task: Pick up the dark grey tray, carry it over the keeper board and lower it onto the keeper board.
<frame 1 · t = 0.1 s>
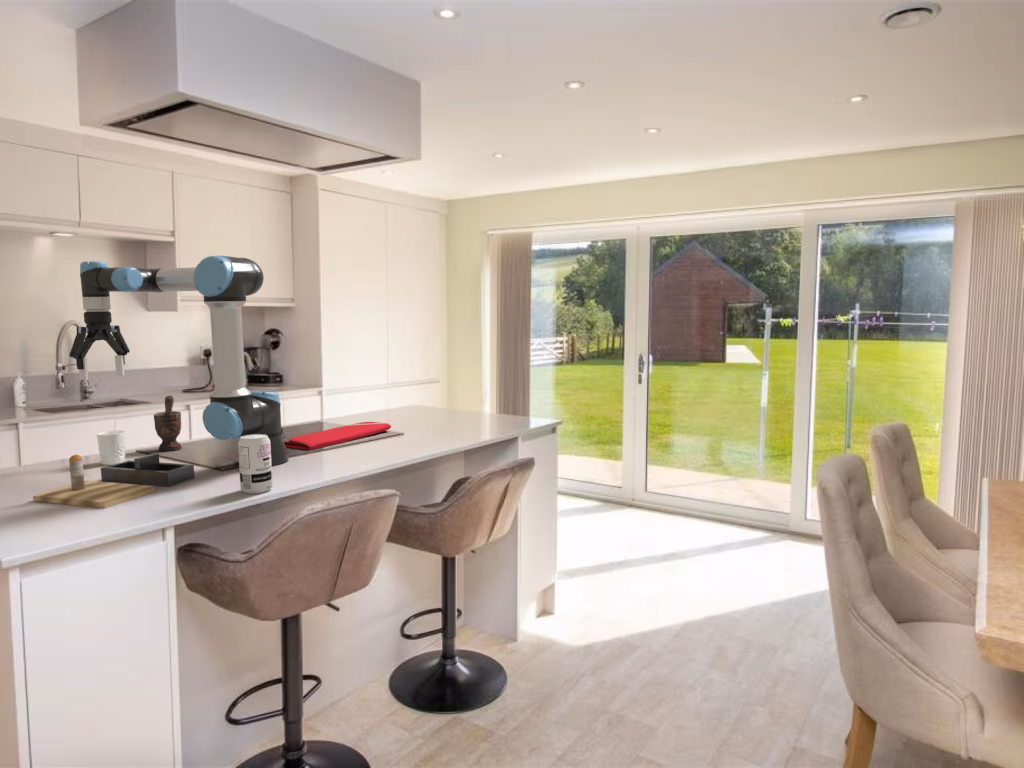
hand: (102, 377, 223), 28 cm above the countertop, fingers open, 13 cm apart
mortar and pestle: (172, 450, 245), on the countertop
keeper board: (95, 496, 186), on the countertop
supplement can: (257, 491, 190), on the countertop
white cup: (113, 463, 226), on the countertop
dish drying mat: (339, 440, 262), on the countertop
dark grey tray: (148, 479, 203), on the countertop
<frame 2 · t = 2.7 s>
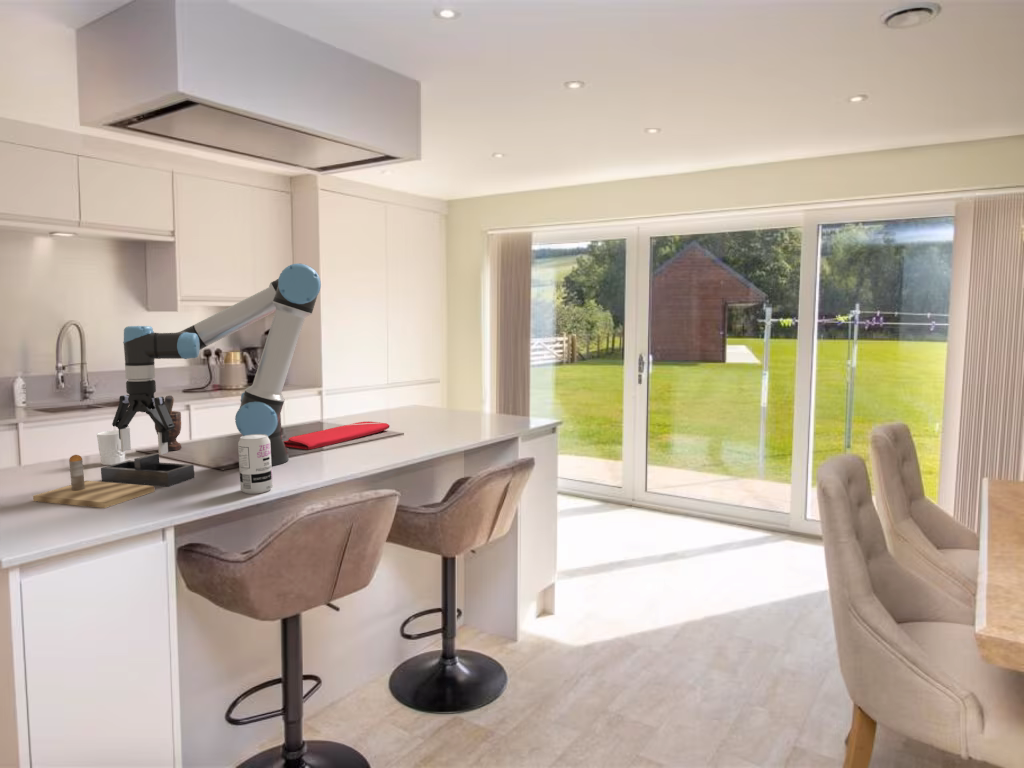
hand: (144, 452, 202), 8 cm above the countertop, fingers open, 13 cm apart
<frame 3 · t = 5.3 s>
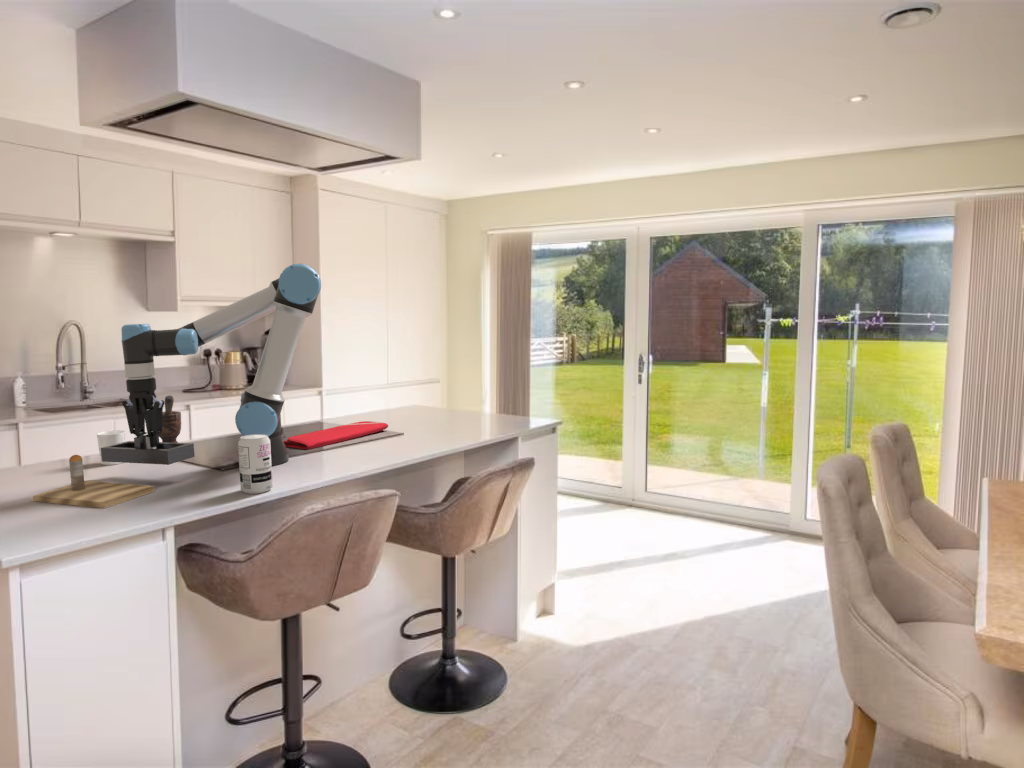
hand: (148, 457, 203), 7 cm above the countertop, fingers closed on dark grey tray, 2 cm apart
dark grey tray: (148, 459, 203), point 6 cm above the countertop, touching gripper
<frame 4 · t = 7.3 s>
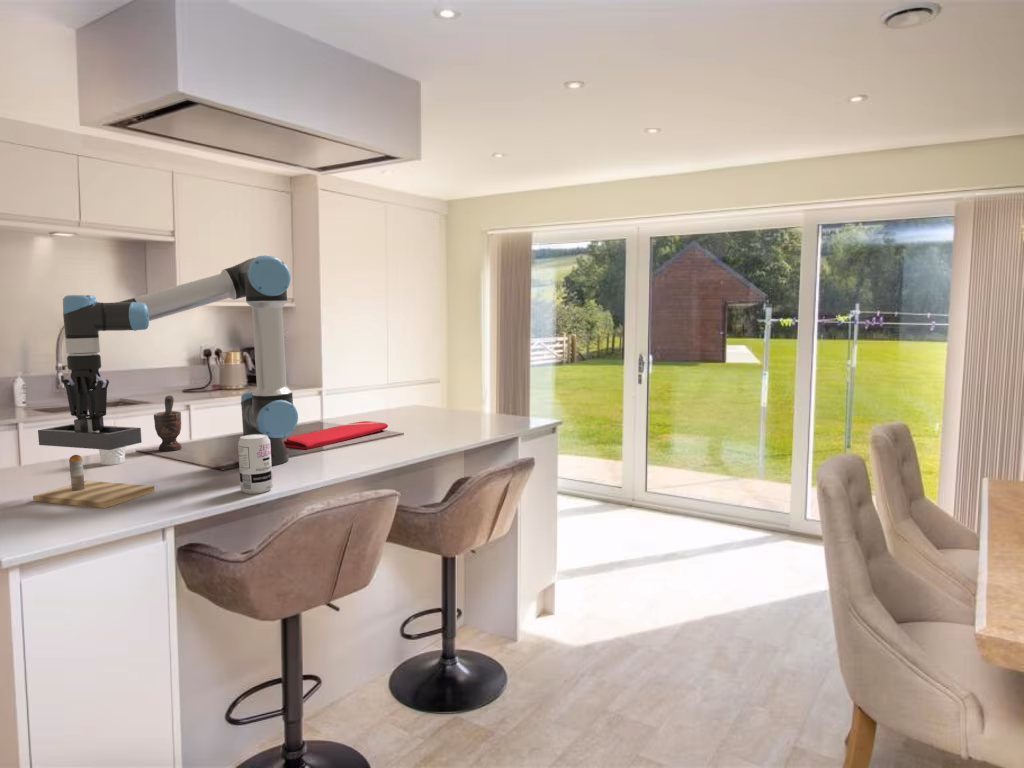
hand: (90, 442, 185), 15 cm above the countertop, fingers closed on dark grey tray, 2 cm apart
dark grey tray: (90, 443, 185), point 14 cm above the countertop, touching gripper
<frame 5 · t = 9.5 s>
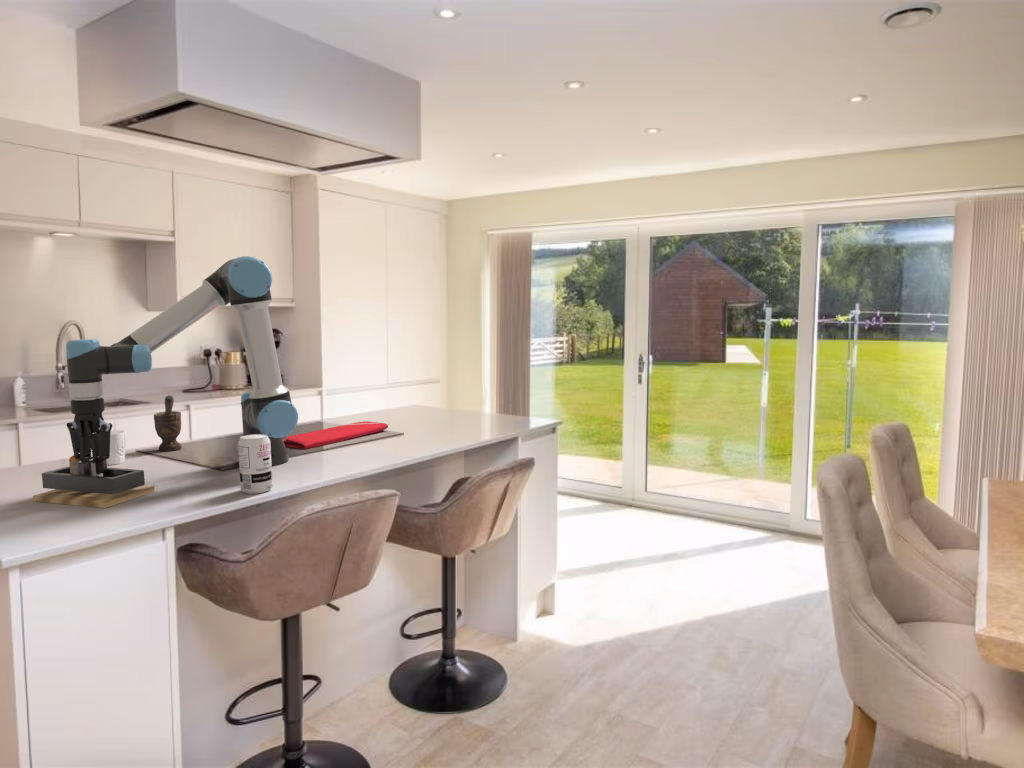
hand: (94, 485, 186), 3 cm above the countertop, fingers closed on dark grey tray, 2 cm apart
dark grey tray: (94, 486, 186), point 3 cm above the countertop, touching gripper
when the fingers open (3 cm above the countertop, at t = 9.7 s): dark grey tray drops 1 cm, resting on keeper board.
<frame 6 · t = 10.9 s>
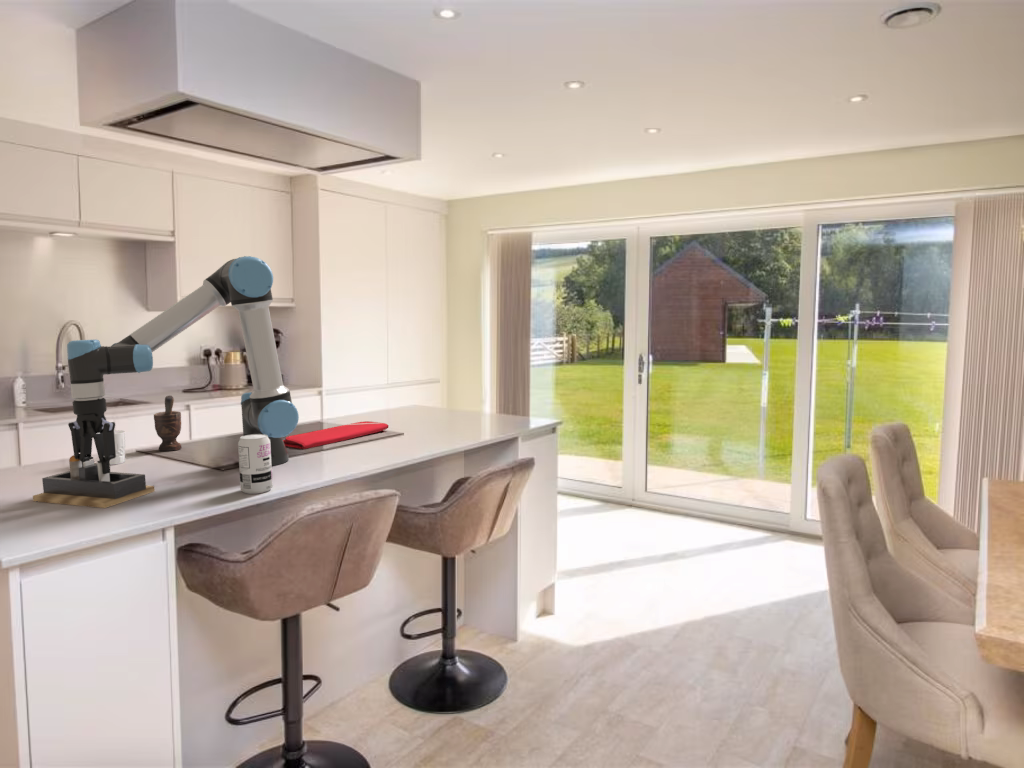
hand: (97, 484, 185), 3 cm above the countertop, fingers open, 4 cm apart
dark grey tray: (95, 490, 186), point 1 cm above the countertop, touching gripper, keeper board
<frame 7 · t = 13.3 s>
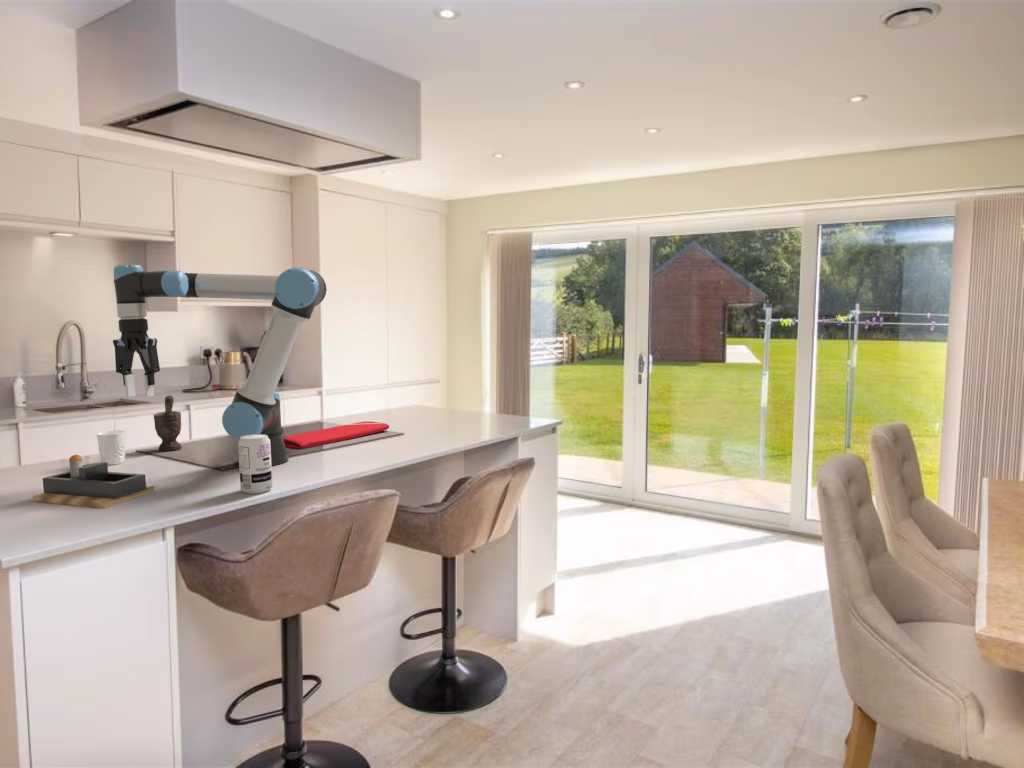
hand: (140, 396, 206), 24 cm above the countertop, fingers open, 6 cm apart
dark grey tray: (95, 490, 186), point 1 cm above the countertop, touching keeper board
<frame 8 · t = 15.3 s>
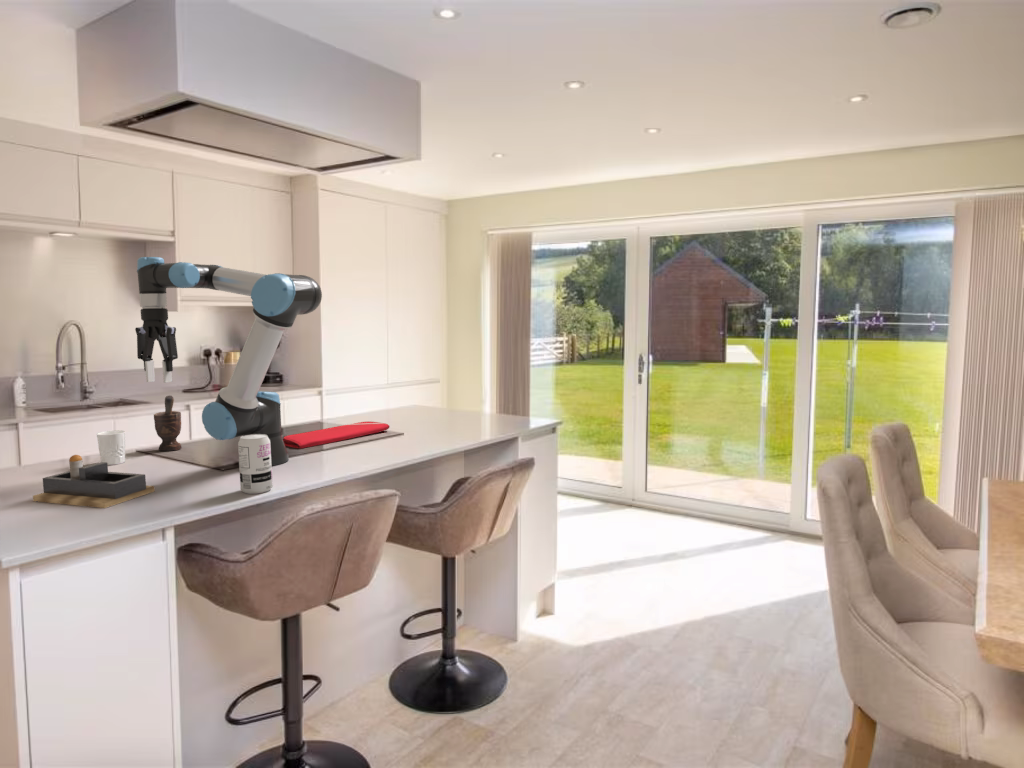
hand: (159, 381, 218), 27 cm above the countertop, fingers open, 6 cm apart
at the end: dark grey tray 0.2 cm off-centre on the keeper board, point 1.5 cm above the keeper board's base; dark grey tray tilted 0°; the gripper is holding nothing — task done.
